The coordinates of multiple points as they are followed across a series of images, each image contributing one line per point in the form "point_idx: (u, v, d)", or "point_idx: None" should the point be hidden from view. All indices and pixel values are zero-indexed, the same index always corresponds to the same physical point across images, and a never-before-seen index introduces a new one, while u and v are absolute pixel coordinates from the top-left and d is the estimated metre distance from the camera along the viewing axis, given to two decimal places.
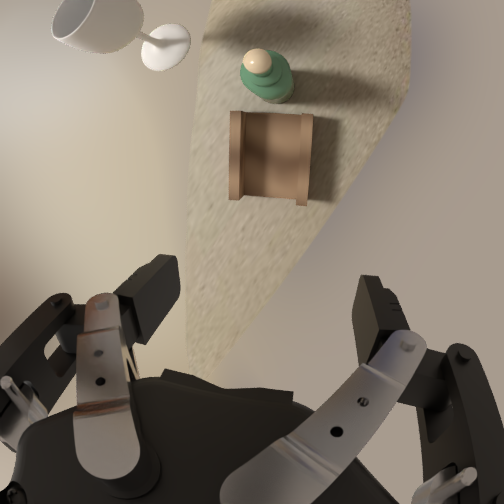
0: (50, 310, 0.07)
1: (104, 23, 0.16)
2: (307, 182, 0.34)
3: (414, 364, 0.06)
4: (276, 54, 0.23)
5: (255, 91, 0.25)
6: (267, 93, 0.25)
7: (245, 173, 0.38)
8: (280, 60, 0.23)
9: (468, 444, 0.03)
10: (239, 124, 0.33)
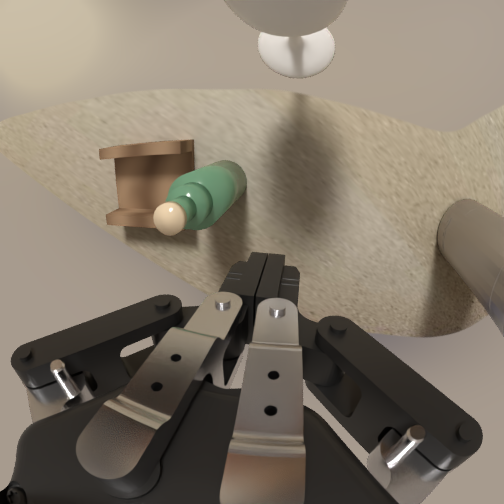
0: (149, 312, 0.08)
1: None
2: (124, 224, 0.34)
3: (272, 327, 0.07)
4: (216, 215, 0.24)
5: (169, 191, 0.24)
6: None
7: (132, 155, 0.33)
8: (208, 220, 0.24)
9: (394, 407, 0.05)
10: (166, 153, 0.29)
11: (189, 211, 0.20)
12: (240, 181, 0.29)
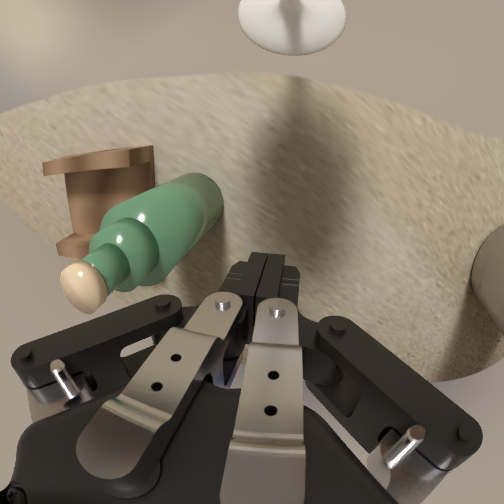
0: (149, 312, 0.08)
1: None
2: (75, 256, 0.25)
3: (272, 327, 0.07)
4: (165, 268, 0.15)
5: (101, 230, 0.15)
6: None
7: None
8: (156, 273, 0.15)
9: (394, 407, 0.05)
10: (112, 166, 0.20)
11: (112, 274, 0.12)
12: (211, 204, 0.21)
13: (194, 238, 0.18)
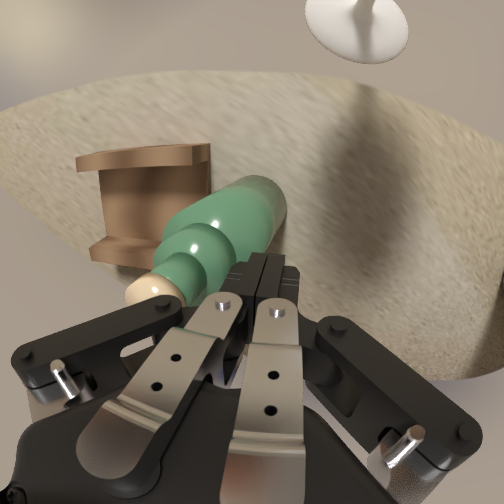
0: (149, 312, 0.08)
1: None
2: (114, 262, 0.24)
3: (272, 327, 0.07)
4: None
5: (164, 234, 0.14)
6: None
7: None
8: None
9: (394, 407, 0.05)
10: (169, 164, 0.19)
11: (191, 290, 0.11)
12: (279, 211, 0.20)
13: (266, 247, 0.17)
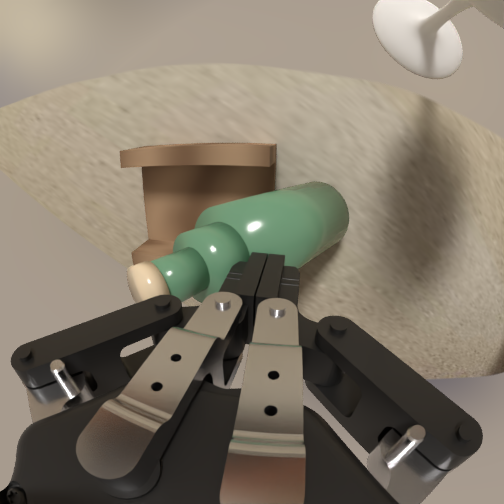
0: (149, 312, 0.08)
1: None
2: None
3: (272, 327, 0.07)
4: None
5: (196, 228, 0.15)
6: None
7: None
8: None
9: (394, 407, 0.05)
10: (242, 163, 0.18)
11: (183, 285, 0.11)
12: (332, 223, 0.18)
13: (301, 259, 0.15)
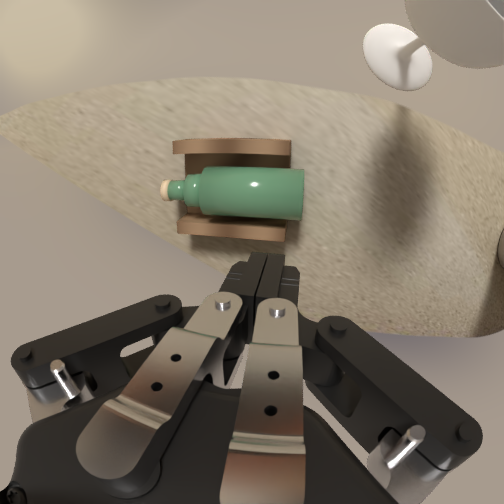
0: (149, 312, 0.08)
1: (467, 23, 0.06)
2: (203, 233, 0.30)
3: (272, 327, 0.07)
4: None
5: None
6: None
7: None
8: None
9: (394, 407, 0.05)
10: (270, 153, 0.26)
11: (173, 191, 0.28)
12: (272, 194, 0.25)
13: (233, 205, 0.26)
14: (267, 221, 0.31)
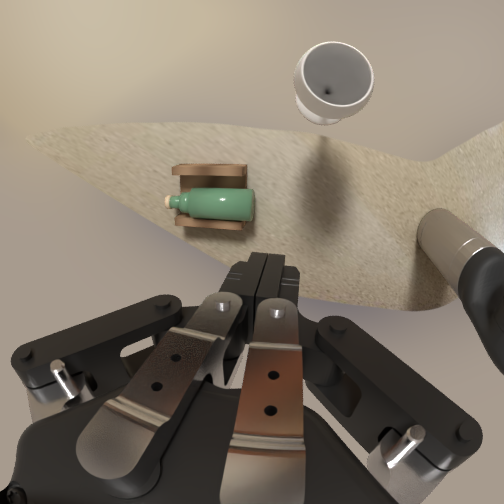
0: (149, 312, 0.08)
1: (310, 104, 0.23)
2: (191, 225, 0.47)
3: (272, 327, 0.07)
4: (191, 215, 0.45)
5: None
6: None
7: None
8: None
9: (394, 407, 0.05)
10: (230, 175, 0.42)
11: (173, 204, 0.46)
12: (231, 210, 0.43)
13: (209, 215, 0.44)
14: None
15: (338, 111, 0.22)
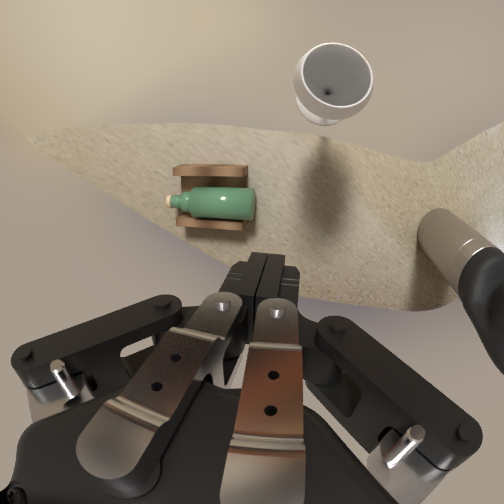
0: (149, 312, 0.08)
1: (310, 105, 0.23)
2: (192, 226, 0.47)
3: (272, 327, 0.07)
4: None
5: None
6: None
7: None
8: None
9: (394, 407, 0.05)
10: (231, 175, 0.43)
11: (174, 203, 0.46)
12: (231, 208, 0.43)
13: (210, 214, 0.44)
14: None
15: (337, 112, 0.22)
